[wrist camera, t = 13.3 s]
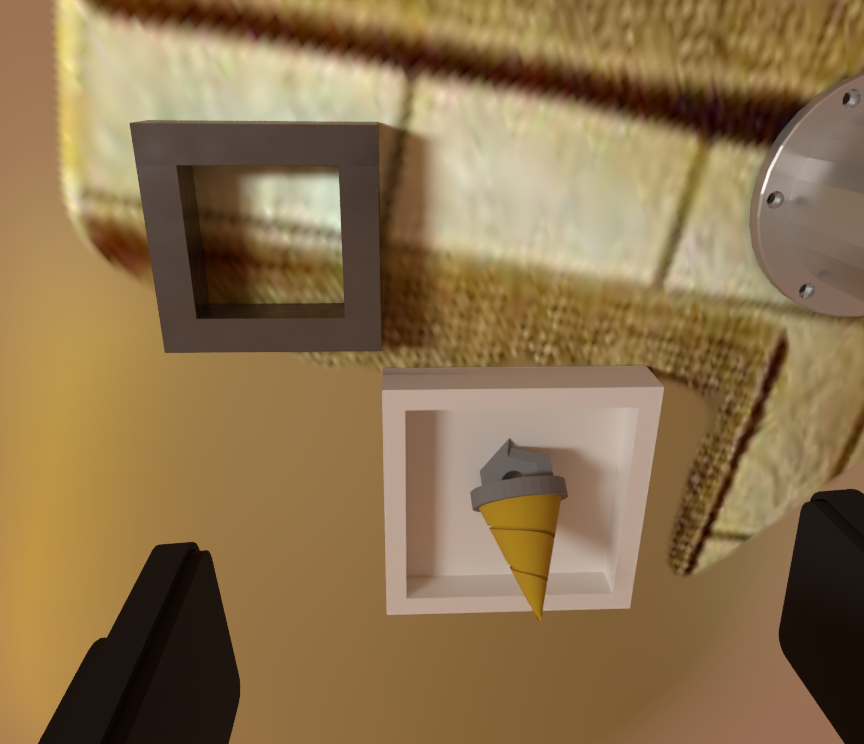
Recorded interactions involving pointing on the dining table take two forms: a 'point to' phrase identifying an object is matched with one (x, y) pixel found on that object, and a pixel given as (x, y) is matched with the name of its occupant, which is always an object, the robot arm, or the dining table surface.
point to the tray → (477, 443)
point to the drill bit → (522, 515)
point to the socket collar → (182, 248)
